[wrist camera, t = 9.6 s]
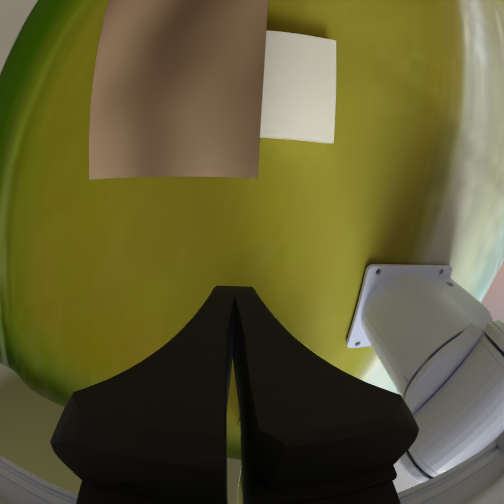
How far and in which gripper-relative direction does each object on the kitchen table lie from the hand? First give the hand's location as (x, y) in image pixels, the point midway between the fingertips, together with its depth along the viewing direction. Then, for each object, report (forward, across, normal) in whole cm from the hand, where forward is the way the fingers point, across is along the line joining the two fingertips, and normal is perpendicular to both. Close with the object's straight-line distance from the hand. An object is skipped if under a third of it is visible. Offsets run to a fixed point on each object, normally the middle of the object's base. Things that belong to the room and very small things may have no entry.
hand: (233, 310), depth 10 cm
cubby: (+9, +4, -10) cm, 14 cm away
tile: (+10, 0, -10) cm, 14 cm away
